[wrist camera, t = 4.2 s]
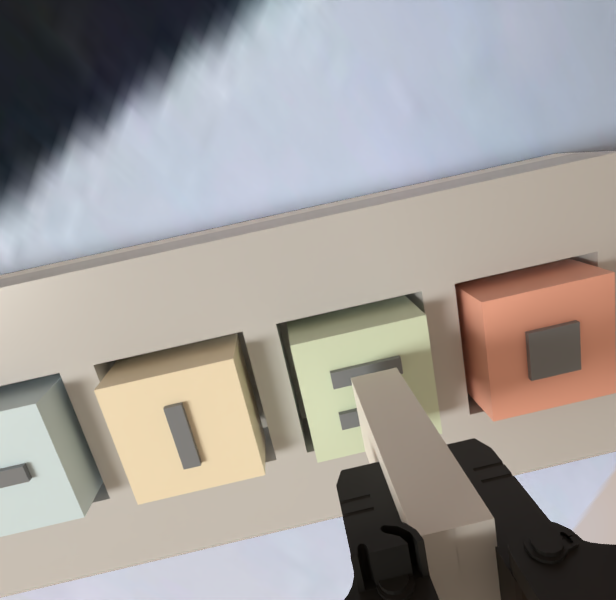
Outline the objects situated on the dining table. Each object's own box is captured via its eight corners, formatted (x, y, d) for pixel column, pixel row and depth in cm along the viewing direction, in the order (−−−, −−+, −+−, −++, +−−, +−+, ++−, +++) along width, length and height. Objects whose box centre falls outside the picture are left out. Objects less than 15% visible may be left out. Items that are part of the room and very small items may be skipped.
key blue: (-7, 500, 18) (-50, 552, 16) (-57, 399, 17) (-112, 439, 14) (107, 473, 18) (82, 521, 16) (66, 371, 17) (32, 406, 15)
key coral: (465, 390, 19) (496, 424, 16) (453, 284, 17) (484, 303, 15) (573, 365, 19) (620, 395, 16) (569, 258, 18) (619, 273, 15)
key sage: (311, 426, 19) (318, 466, 16) (286, 321, 17) (290, 348, 15) (420, 400, 19) (444, 436, 16) (404, 295, 17) (428, 316, 15)
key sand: (153, 462, 18) (136, 508, 16) (117, 360, 17) (91, 393, 15) (265, 436, 19) (265, 478, 16) (237, 333, 17) (232, 361, 15)
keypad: (28, 527, 22) (-22, 602, 18) (-84, 293, 19) (-174, 326, 15) (566, 401, 23) (627, 448, 19) (555, 153, 19) (627, 150, 15)
